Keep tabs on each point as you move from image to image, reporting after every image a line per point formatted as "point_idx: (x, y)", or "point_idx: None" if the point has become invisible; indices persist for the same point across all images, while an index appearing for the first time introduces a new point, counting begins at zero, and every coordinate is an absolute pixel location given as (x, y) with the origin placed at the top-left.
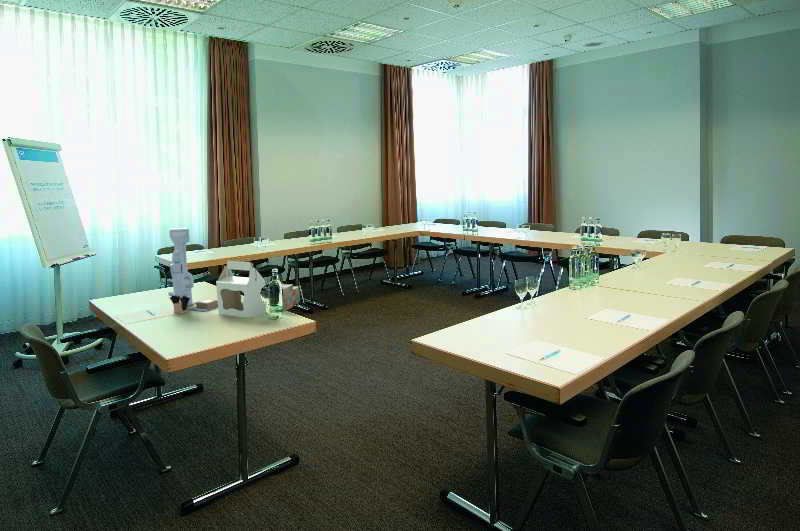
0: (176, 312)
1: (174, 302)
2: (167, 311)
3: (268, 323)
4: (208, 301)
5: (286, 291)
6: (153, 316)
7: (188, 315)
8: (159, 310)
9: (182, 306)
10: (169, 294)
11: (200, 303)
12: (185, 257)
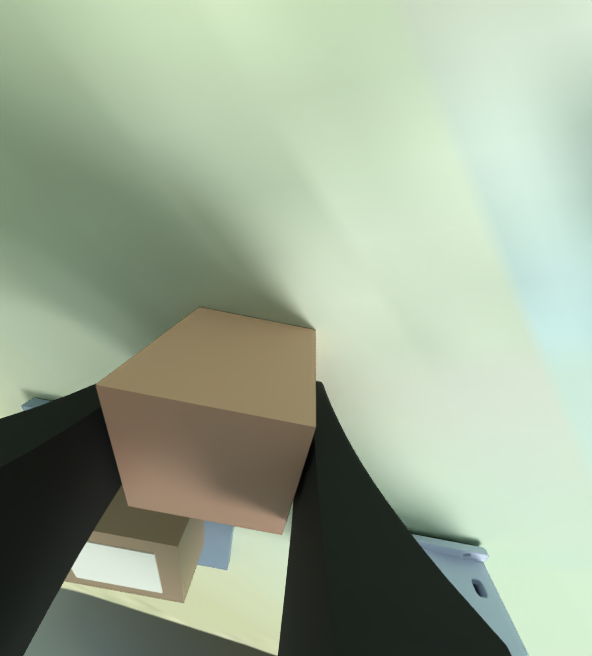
0: (275, 326)
1: (313, 477)
2: (445, 379)
3: None
4: (84, 560)
5: None
6: (583, 14)
7: (20, 230)
8: (575, 409)
9: None
10: None
11: (120, 524)
12: None
